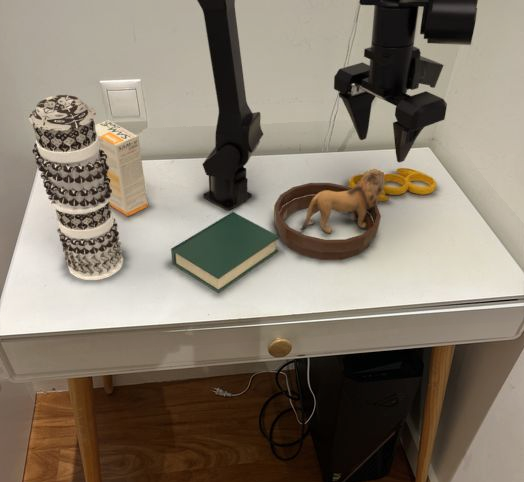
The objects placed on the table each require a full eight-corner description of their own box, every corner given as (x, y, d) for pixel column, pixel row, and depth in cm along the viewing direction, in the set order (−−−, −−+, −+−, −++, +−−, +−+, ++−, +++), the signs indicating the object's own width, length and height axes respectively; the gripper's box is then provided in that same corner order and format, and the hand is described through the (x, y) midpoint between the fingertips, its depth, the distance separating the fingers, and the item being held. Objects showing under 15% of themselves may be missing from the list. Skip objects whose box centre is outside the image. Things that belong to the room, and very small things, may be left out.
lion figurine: (371, 207, 100) (378, 160, 94) (385, 223, 97) (393, 176, 90) (294, 224, 97) (296, 178, 91) (306, 242, 94) (308, 195, 87)
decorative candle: (55, 258, 89) (8, 98, 70) (108, 238, 93) (77, 82, 74) (80, 289, 84) (37, 127, 66) (136, 267, 88) (110, 108, 70)
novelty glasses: (442, 201, 104) (426, 173, 111) (444, 193, 103) (428, 166, 110) (353, 203, 103) (343, 175, 109) (355, 196, 101) (344, 167, 108)
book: (172, 264, 89) (170, 248, 87) (232, 226, 96) (232, 211, 94) (218, 293, 84) (218, 277, 82) (278, 251, 92) (279, 236, 90)
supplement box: (149, 206, 99) (140, 135, 90) (127, 217, 97) (115, 145, 87) (120, 188, 103) (109, 118, 94) (98, 198, 101) (84, 127, 91)
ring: (252, 231, 95) (253, 211, 92) (314, 191, 105) (317, 172, 102) (336, 276, 88) (339, 256, 85) (394, 229, 97) (399, 209, 94)
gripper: (487, 46, 74) (463, 158, 85) (394, 13, 85) (383, 116, 96) (422, 65, 70) (405, 180, 81) (333, 28, 81) (330, 133, 93)
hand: (381, 150), depth 88 cm, fingers open, 9 cm apart
